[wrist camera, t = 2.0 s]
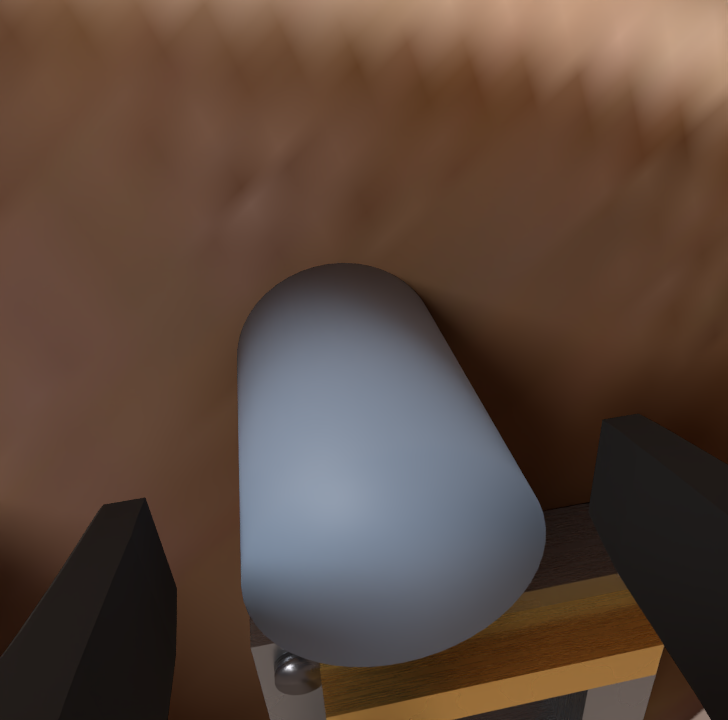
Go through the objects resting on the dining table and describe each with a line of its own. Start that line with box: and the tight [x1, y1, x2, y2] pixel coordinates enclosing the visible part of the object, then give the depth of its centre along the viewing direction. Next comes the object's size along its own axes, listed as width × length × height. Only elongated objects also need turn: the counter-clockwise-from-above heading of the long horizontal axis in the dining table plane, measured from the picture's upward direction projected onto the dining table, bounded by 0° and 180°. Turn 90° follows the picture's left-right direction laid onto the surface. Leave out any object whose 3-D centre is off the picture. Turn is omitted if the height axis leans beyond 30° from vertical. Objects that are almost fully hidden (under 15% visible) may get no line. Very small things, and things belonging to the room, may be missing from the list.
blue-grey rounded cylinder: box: [237, 263, 546, 667], centre depth 12 cm, size 4×4×6 cm
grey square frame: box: [250, 503, 664, 720], centre depth 19 cm, size 11×11×4 cm
